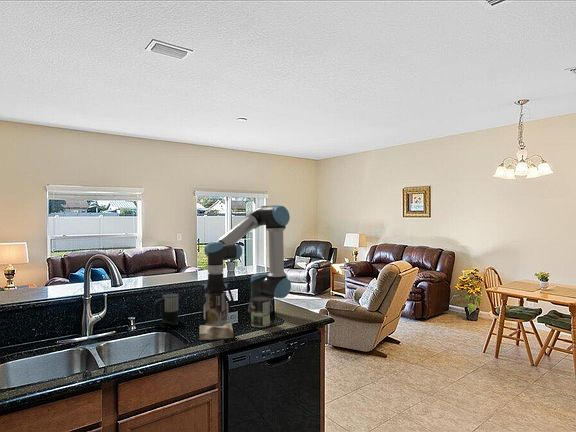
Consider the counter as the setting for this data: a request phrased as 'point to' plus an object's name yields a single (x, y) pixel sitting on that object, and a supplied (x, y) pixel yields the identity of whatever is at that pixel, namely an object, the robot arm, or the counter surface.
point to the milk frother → (167, 309)
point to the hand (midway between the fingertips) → (216, 317)
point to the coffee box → (215, 309)
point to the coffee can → (260, 311)
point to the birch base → (215, 332)
